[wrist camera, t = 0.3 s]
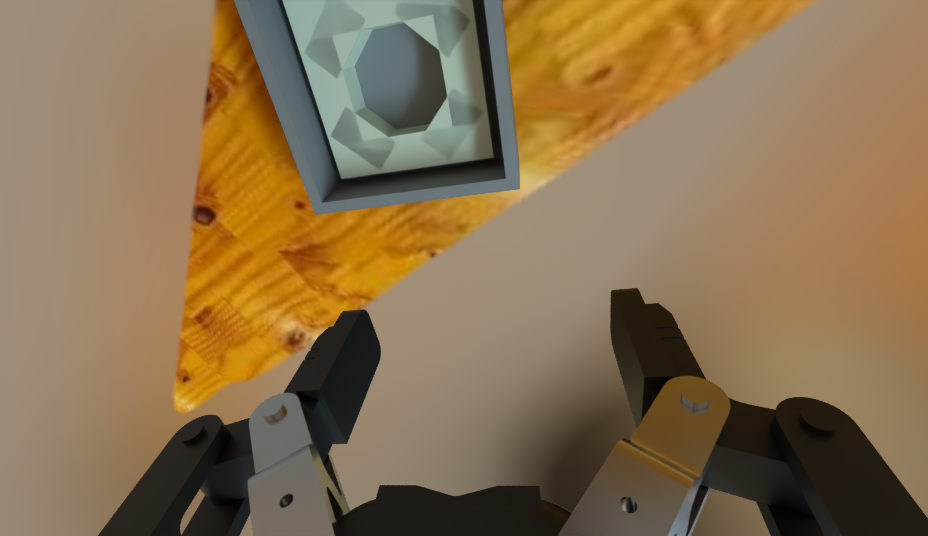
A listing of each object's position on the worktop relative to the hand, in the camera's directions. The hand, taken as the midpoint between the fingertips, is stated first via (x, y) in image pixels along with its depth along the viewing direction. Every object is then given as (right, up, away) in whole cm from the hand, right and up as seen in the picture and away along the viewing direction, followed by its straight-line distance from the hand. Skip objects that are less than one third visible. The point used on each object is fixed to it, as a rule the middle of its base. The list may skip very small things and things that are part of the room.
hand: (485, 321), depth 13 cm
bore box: (-6, +19, +22) cm, 30 cm away
